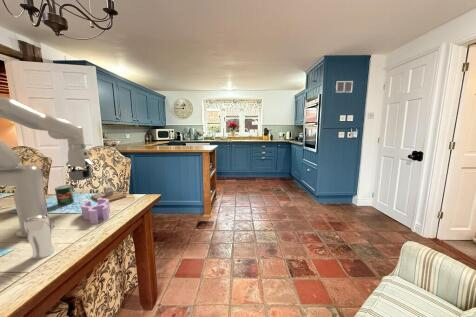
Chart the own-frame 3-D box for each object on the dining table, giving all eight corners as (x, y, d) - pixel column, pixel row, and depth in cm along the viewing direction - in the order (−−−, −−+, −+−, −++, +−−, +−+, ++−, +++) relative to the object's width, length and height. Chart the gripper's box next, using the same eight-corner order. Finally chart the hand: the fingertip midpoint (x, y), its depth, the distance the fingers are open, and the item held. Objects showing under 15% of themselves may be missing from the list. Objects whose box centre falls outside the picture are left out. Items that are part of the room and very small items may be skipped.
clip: (115, 218, 106) (113, 206, 105) (86, 226, 98) (84, 213, 97) (107, 207, 121) (105, 196, 119) (81, 213, 112) (79, 202, 111)
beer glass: (60, 248, 81) (54, 213, 78) (44, 259, 74) (37, 222, 71) (42, 248, 81) (35, 213, 78) (25, 260, 74) (16, 222, 71)
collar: (91, 177, 123) (90, 169, 122) (81, 180, 116) (80, 171, 115) (80, 177, 124) (79, 169, 123) (70, 180, 117) (69, 171, 116)
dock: (126, 196, 137) (125, 186, 135) (103, 203, 125) (102, 192, 124) (113, 192, 147) (112, 182, 145) (91, 198, 135) (90, 187, 134)
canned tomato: (70, 200, 132) (67, 184, 130) (76, 202, 128) (74, 185, 126) (55, 204, 125) (52, 188, 123) (61, 207, 121) (58, 189, 119)
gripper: (95, 146, 120) (99, 175, 123) (68, 146, 121) (73, 175, 124) (85, 147, 113) (89, 178, 115) (56, 147, 114) (61, 178, 117)
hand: (80, 176), depth 120 cm, fingers closed on collar, 7 cm apart
